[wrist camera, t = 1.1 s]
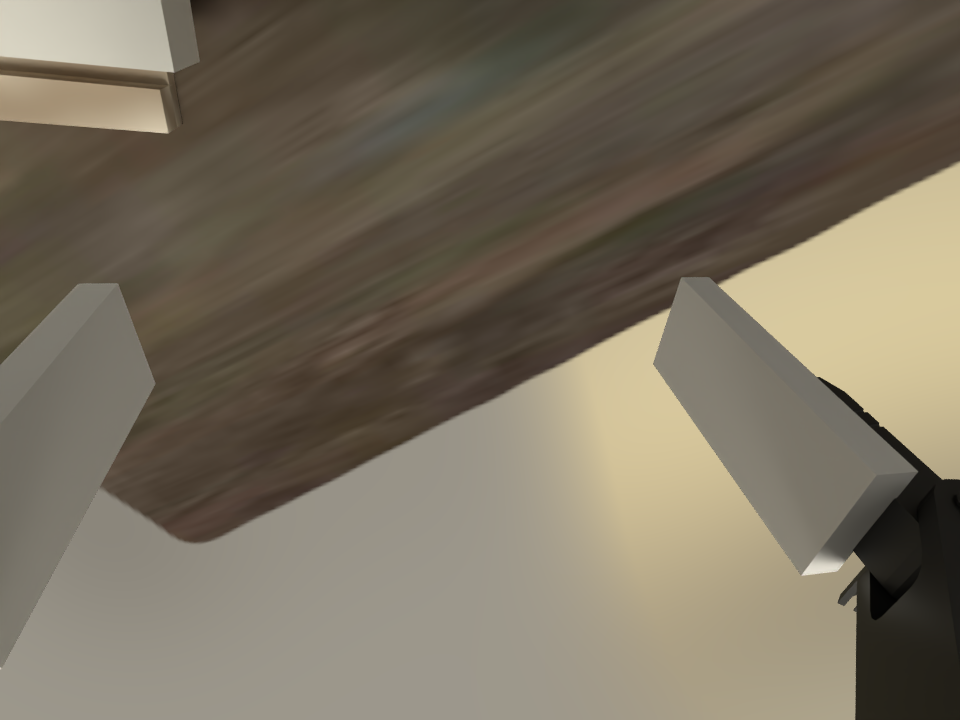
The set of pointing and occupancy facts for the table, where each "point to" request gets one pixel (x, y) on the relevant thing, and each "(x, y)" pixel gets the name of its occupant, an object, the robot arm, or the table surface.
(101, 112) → the track
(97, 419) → the robot arm
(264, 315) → the table surface
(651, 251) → the table surface
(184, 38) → the slab
